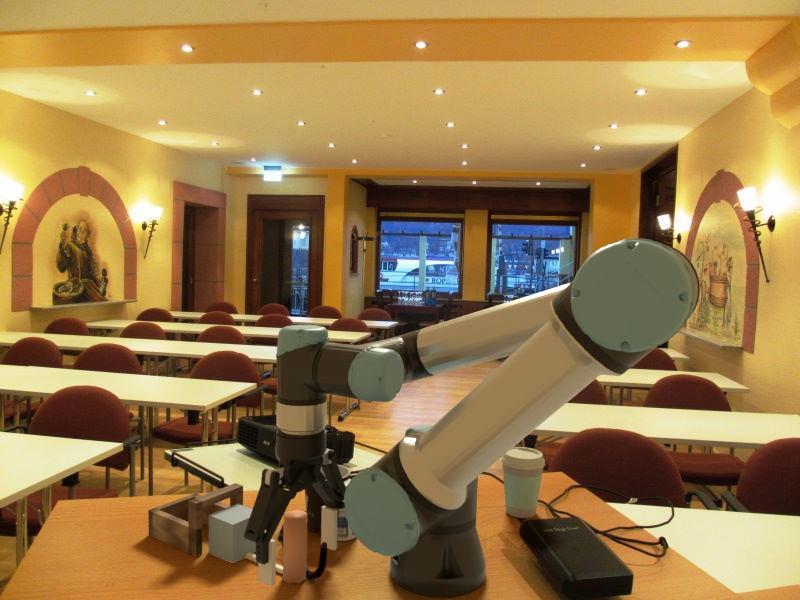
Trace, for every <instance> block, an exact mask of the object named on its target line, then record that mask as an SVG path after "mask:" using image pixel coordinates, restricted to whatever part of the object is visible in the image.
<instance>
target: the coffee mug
mask: <svg viewBox="0 0 800 600" xmlns="http://www.w3.org/2000/svg"><path fill="white" fill-rule="evenodd" d="M337 465H338V468H339V470H340V473H341V476H342V479H343V481H345V480H347V479H351V470H350V469H349V468H348V467H347V466H344V465H341V464H337ZM320 470H321V472H322V474H323V475H324V477H325V474H324V472H323V469H322V466H321V469H320ZM325 478H326V477H325ZM326 482H327V479H326ZM327 483H328V482H327ZM303 491H304V499H305V507H306V508H305V509H306V513H307V527H308V526H309V527H308V529H309V530H311V531H312V532H315V533H318V534H321V518H322V507H323V506H328V505H327V504H326V503H325V502H324V501H323V500H322V498H321V497H320V496H319V494H318V493H317V492H316V490H315V489H314V488H313V487H310V488H305V489H304V490H303Z"/></svg>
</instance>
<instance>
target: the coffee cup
mask: <svg viewBox="0 0 800 600" xmlns="http://www.w3.org/2000/svg"><path fill="white" fill-rule="evenodd" d="M545 461H546V460H545V459H544V455H543V453H542V451H539V450H537V449H535V448H531V447H525V446H514V447H513V448H511V449H510V450H509V451H508V452H507V453H505V454H504V455H503V456H502V457H501V458H500V462H501V464H502V476H503V479H502V480H503V488H504V489H503V490H504V503H505V512H506V514H508V515H509V516H511V517H514V518H519V519H529V518H533V517H535V516H536V514H537V509H538V502H539V495H540V490H541V483H542V478H543V471H544V468H545V466H546V463H545Z"/></svg>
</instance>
